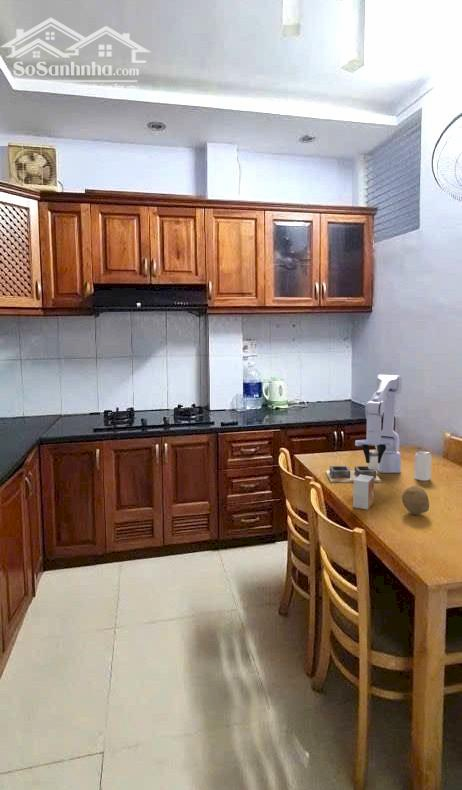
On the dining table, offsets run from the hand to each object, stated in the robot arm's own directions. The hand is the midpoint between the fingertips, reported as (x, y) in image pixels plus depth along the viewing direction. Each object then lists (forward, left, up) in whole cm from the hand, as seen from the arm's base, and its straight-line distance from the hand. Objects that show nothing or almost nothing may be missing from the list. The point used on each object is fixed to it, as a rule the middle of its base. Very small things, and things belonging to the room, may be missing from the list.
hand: (373, 462), depth 195 cm
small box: (+9, +22, -10) cm, 26 cm away
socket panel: (+6, -11, -10) cm, 16 cm away
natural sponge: (-7, +30, -10) cm, 33 cm away
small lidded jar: (0, 0, -2) cm, 2 cm away
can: (-23, -9, -10) cm, 27 cm away
